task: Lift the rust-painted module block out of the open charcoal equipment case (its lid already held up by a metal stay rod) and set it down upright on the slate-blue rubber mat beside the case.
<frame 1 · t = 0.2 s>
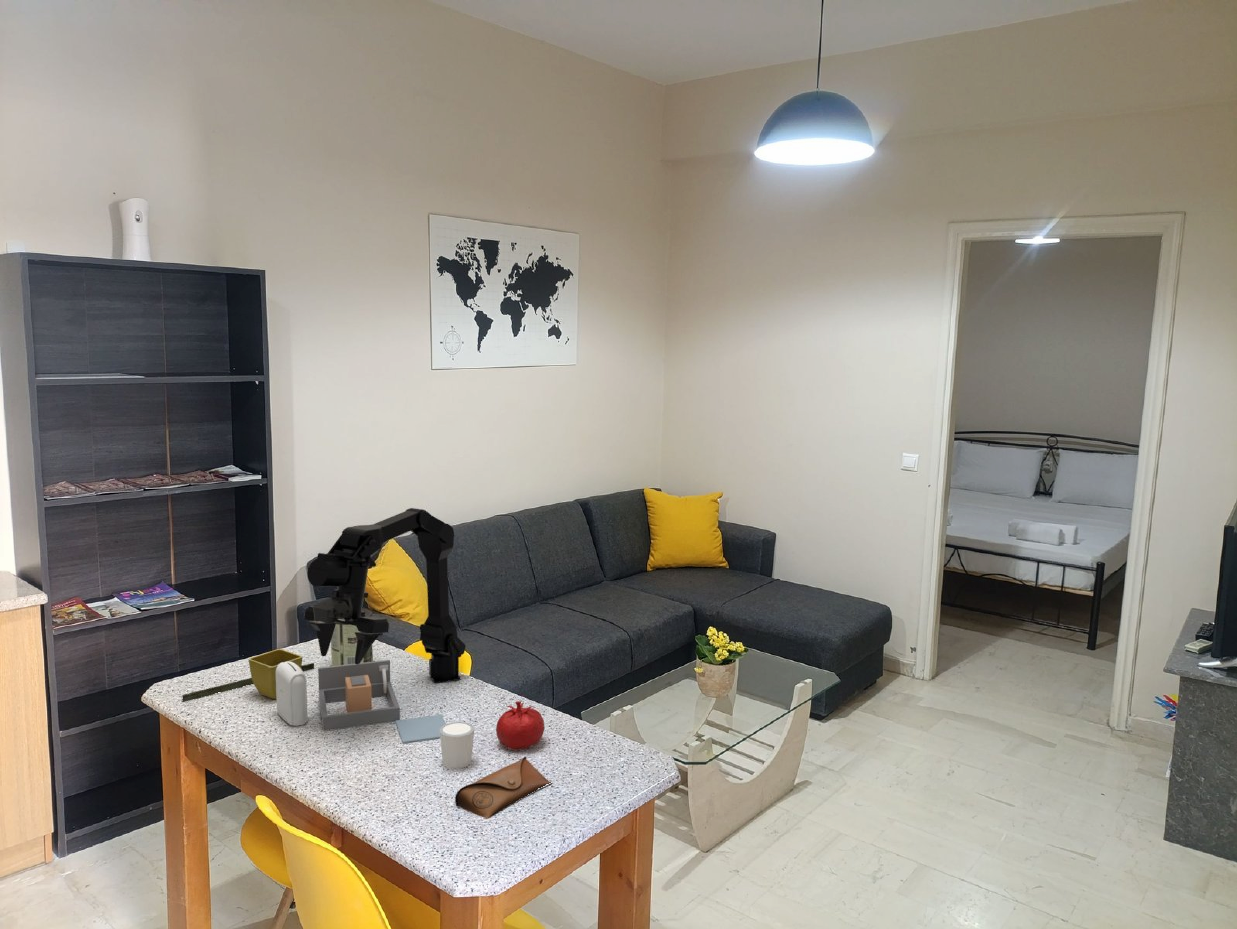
hand: (340, 660, 187), 15 cm above the table, tool pointing down, fingers open, 9 cm apart
sunglasses case: (505, 796, 164), on the table
shot glass: (457, 762, 176), on the table
rod: (251, 686, 212), on the table
coffee can: (352, 668, 224), on the table
module: (358, 711, 198), resting in case
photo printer: (292, 719, 194), on the table
pomegranate: (520, 744, 184), on the table
case: (358, 711, 198), on the table
flower pot: (276, 695, 207), on the table
mat: (422, 729, 190), on the table
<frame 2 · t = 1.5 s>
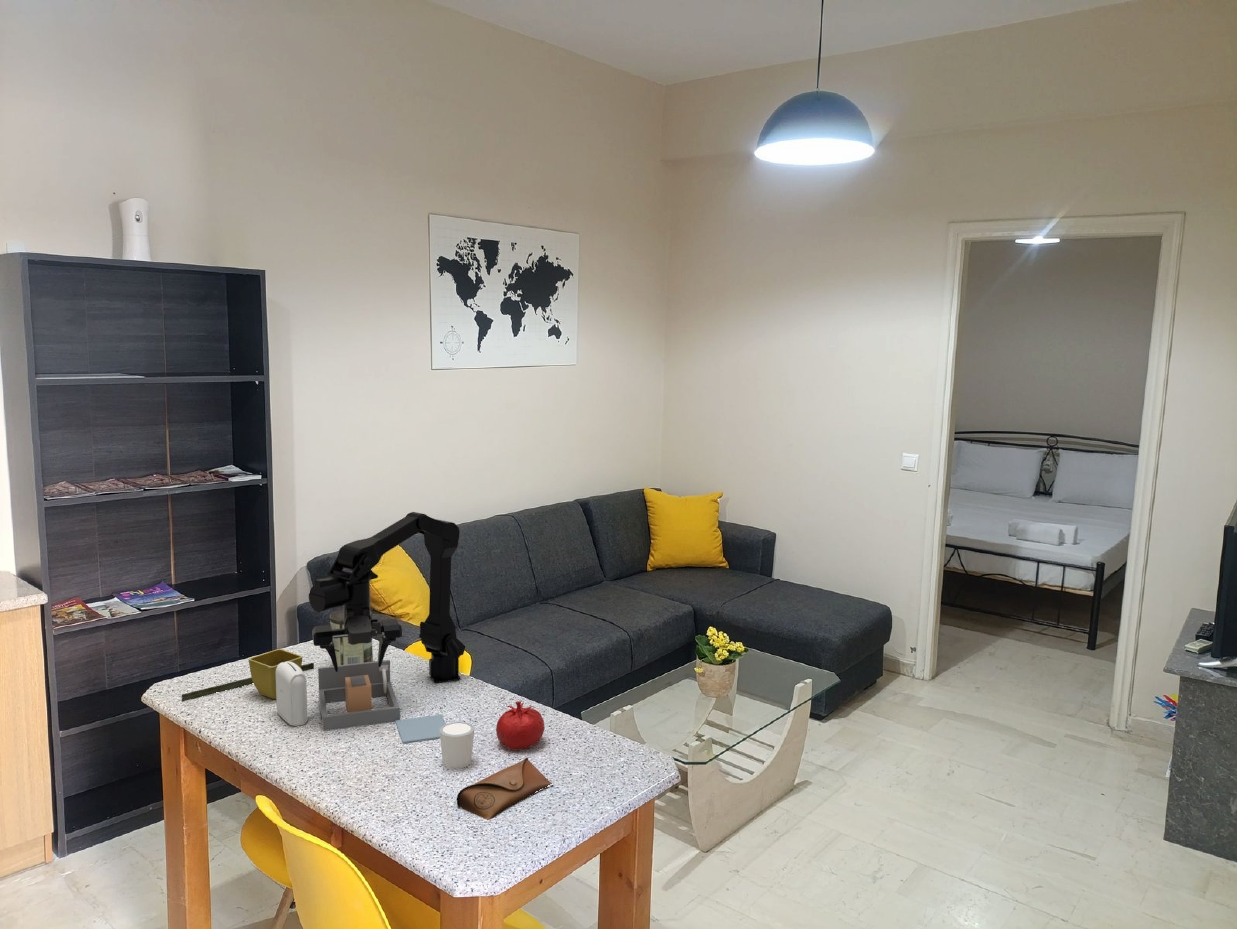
hand: (358, 669, 197), 10 cm above the table, tool pointing down, fingers open, 9 cm apart
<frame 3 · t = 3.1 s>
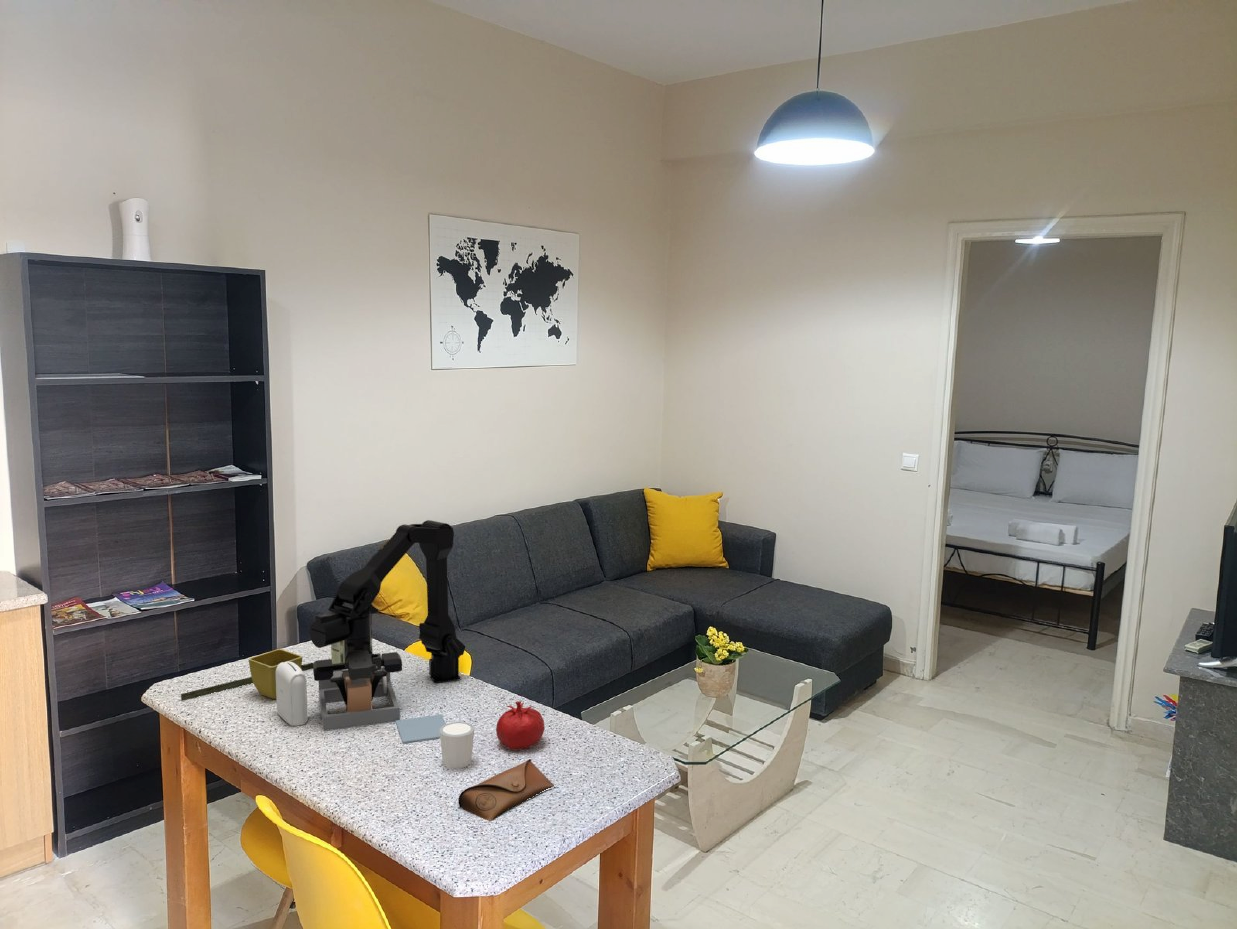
hand: (358, 702, 198), 2 cm above the table, tool pointing down, fingers closed on module, 5 cm apart
module: (358, 711, 198), resting in case, touching gripper
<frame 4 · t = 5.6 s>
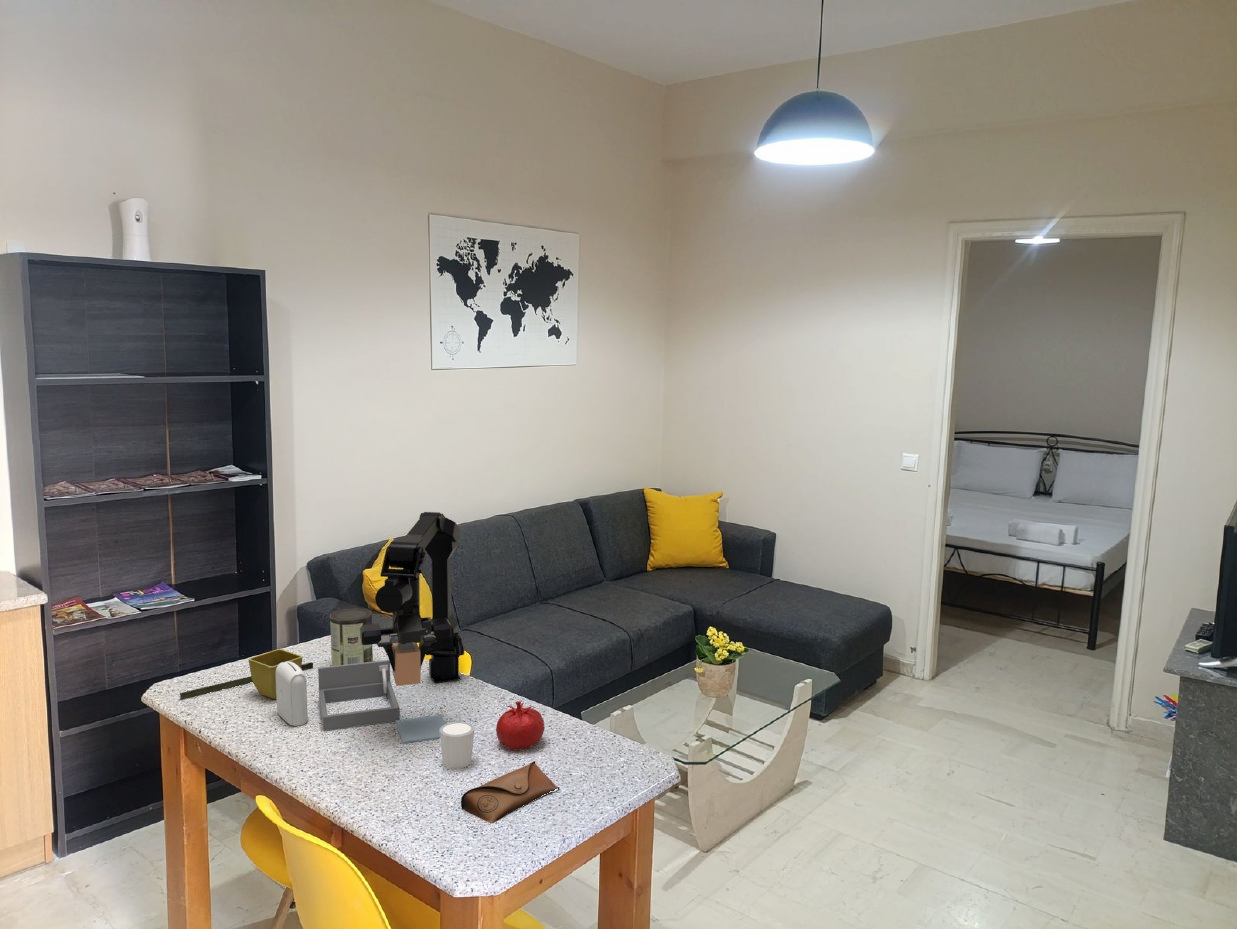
hand: (406, 669, 190), 13 cm above the table, tool pointing down, fingers closed on module, 5 cm apart
module: (406, 678, 190), point 11 cm above the table, touching gripper
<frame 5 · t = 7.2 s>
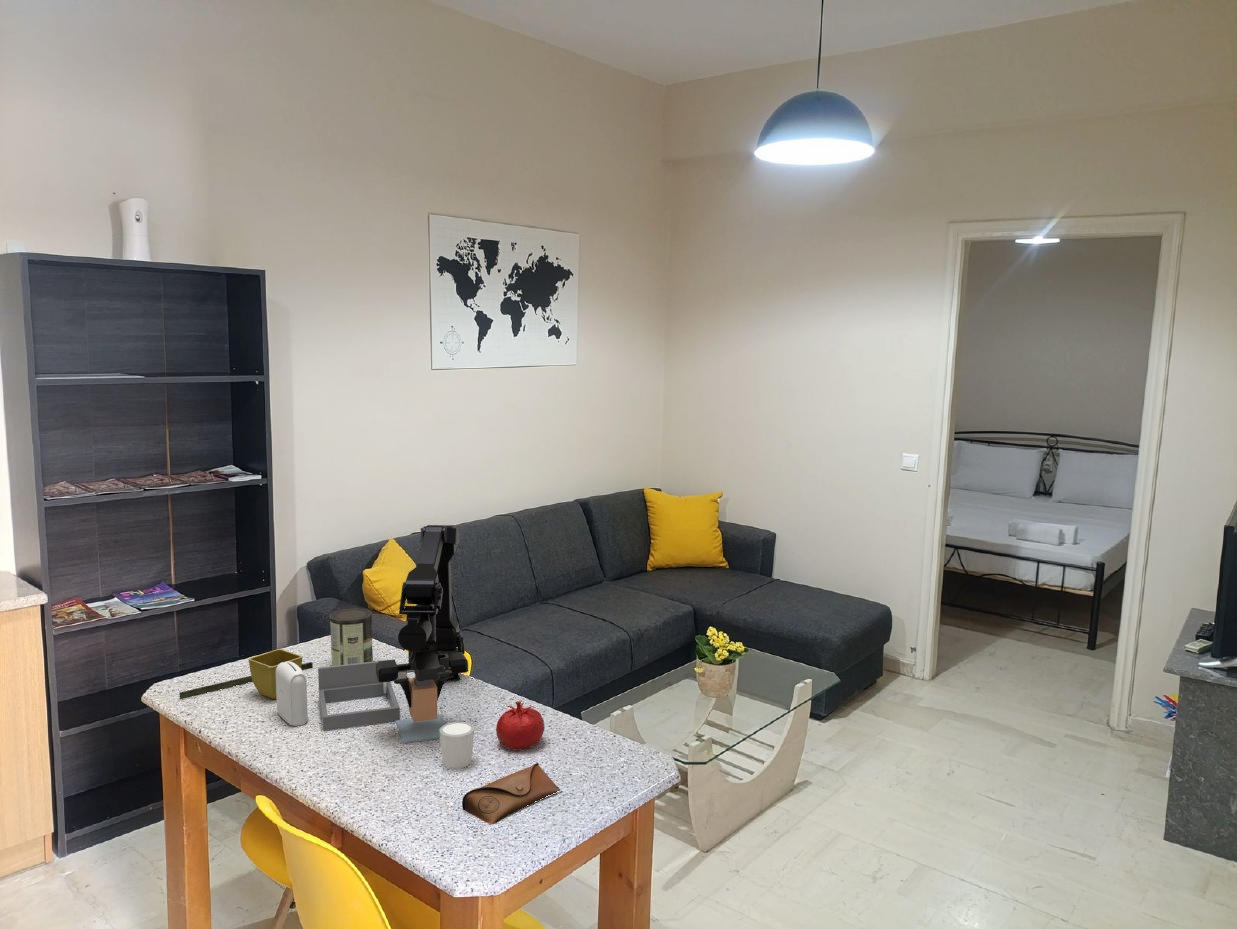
hand: (422, 705, 189), 5 cm above the table, tool pointing down, fingers closed on module, 5 cm apart
module: (422, 714, 189), point 3 cm above the table, touching gripper
when the fingers open (3 cm above the table, at t = 8.5 s): module stays where it is, resting on mat.
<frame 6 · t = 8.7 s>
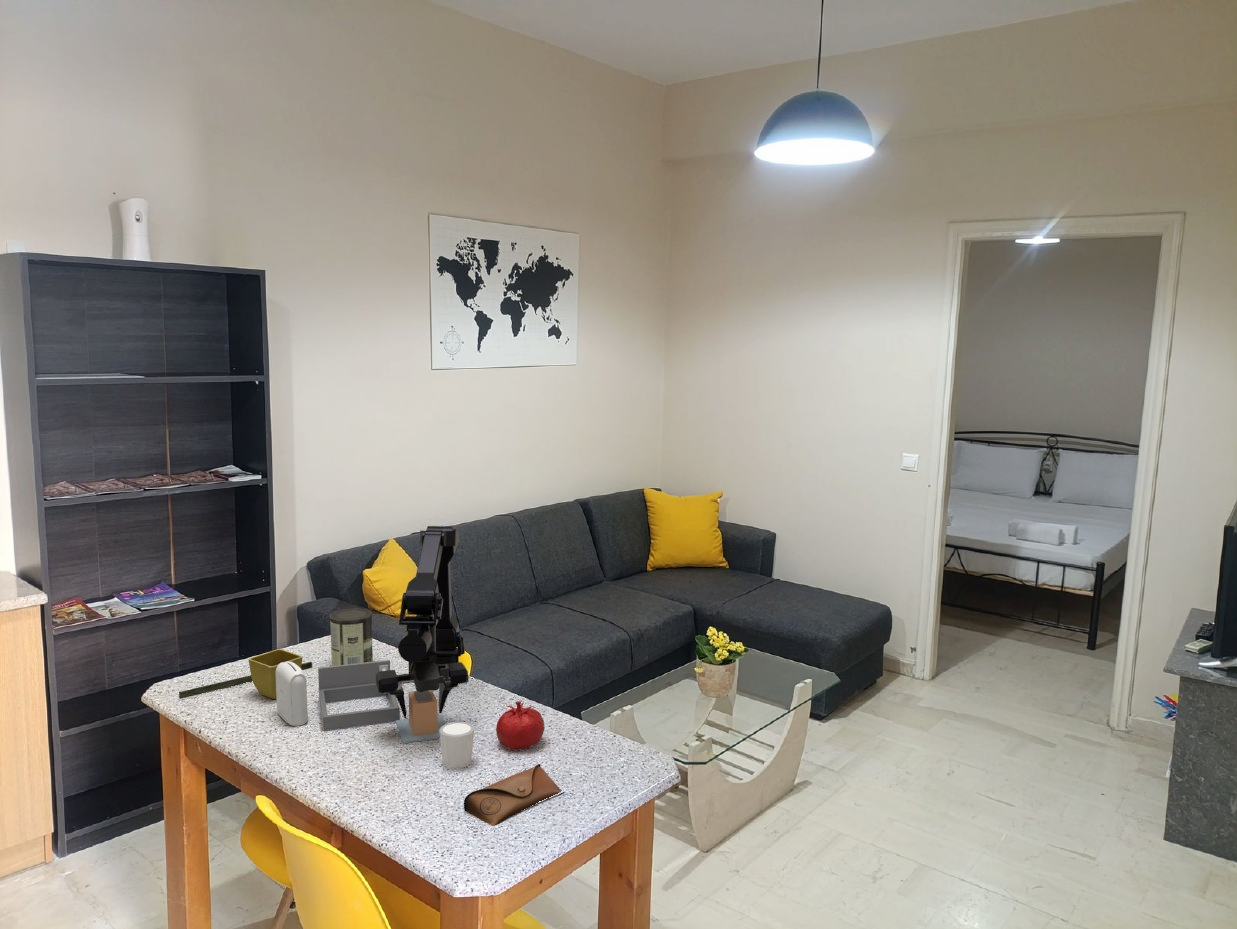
hand: (422, 715, 189), 3 cm above the table, tool pointing down, fingers open, 7 cm apart
module: (423, 727, 190), resting on mat
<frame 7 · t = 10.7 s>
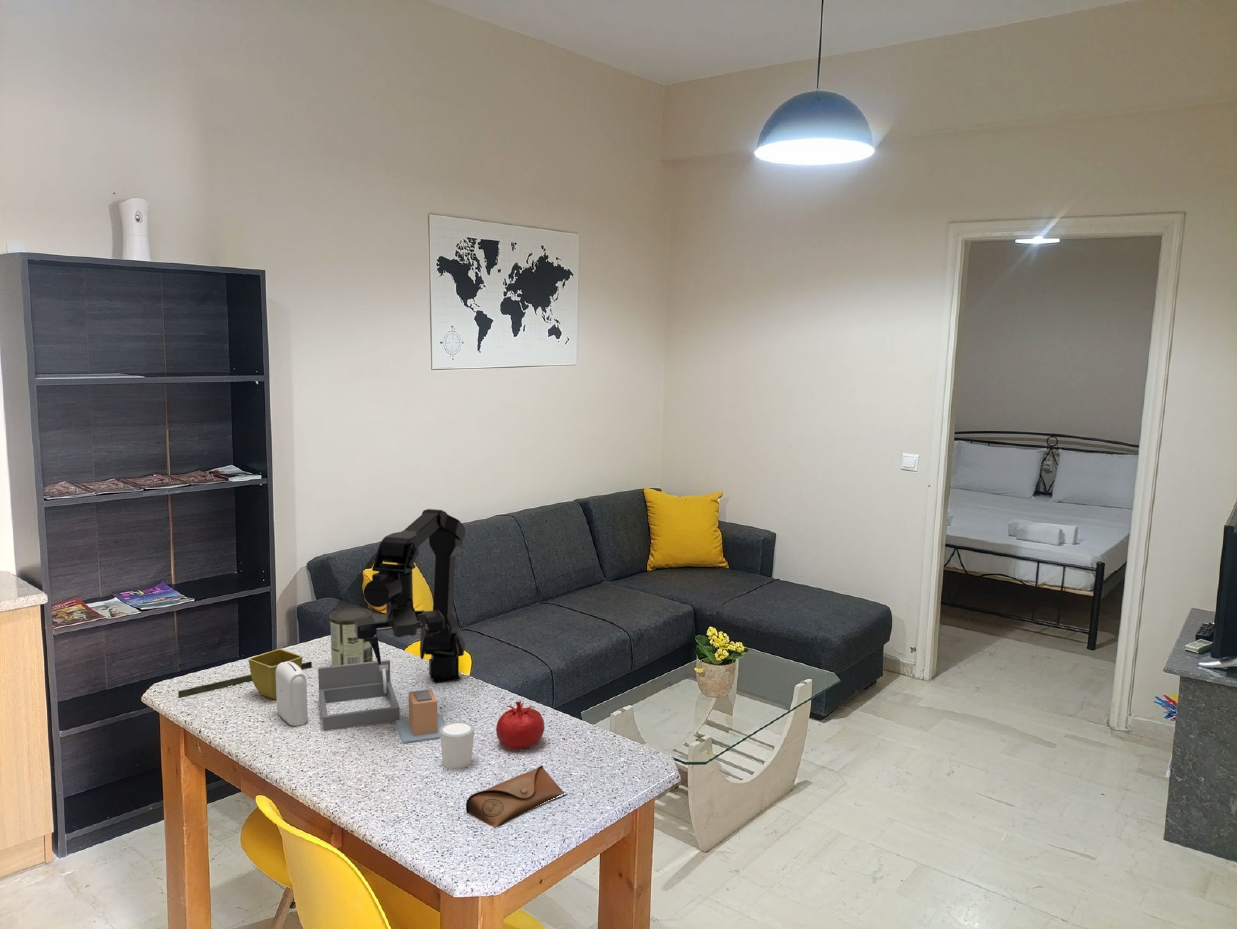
hand: (400, 661, 195), 13 cm above the table, tool pointing down, fingers open, 9 cm apart
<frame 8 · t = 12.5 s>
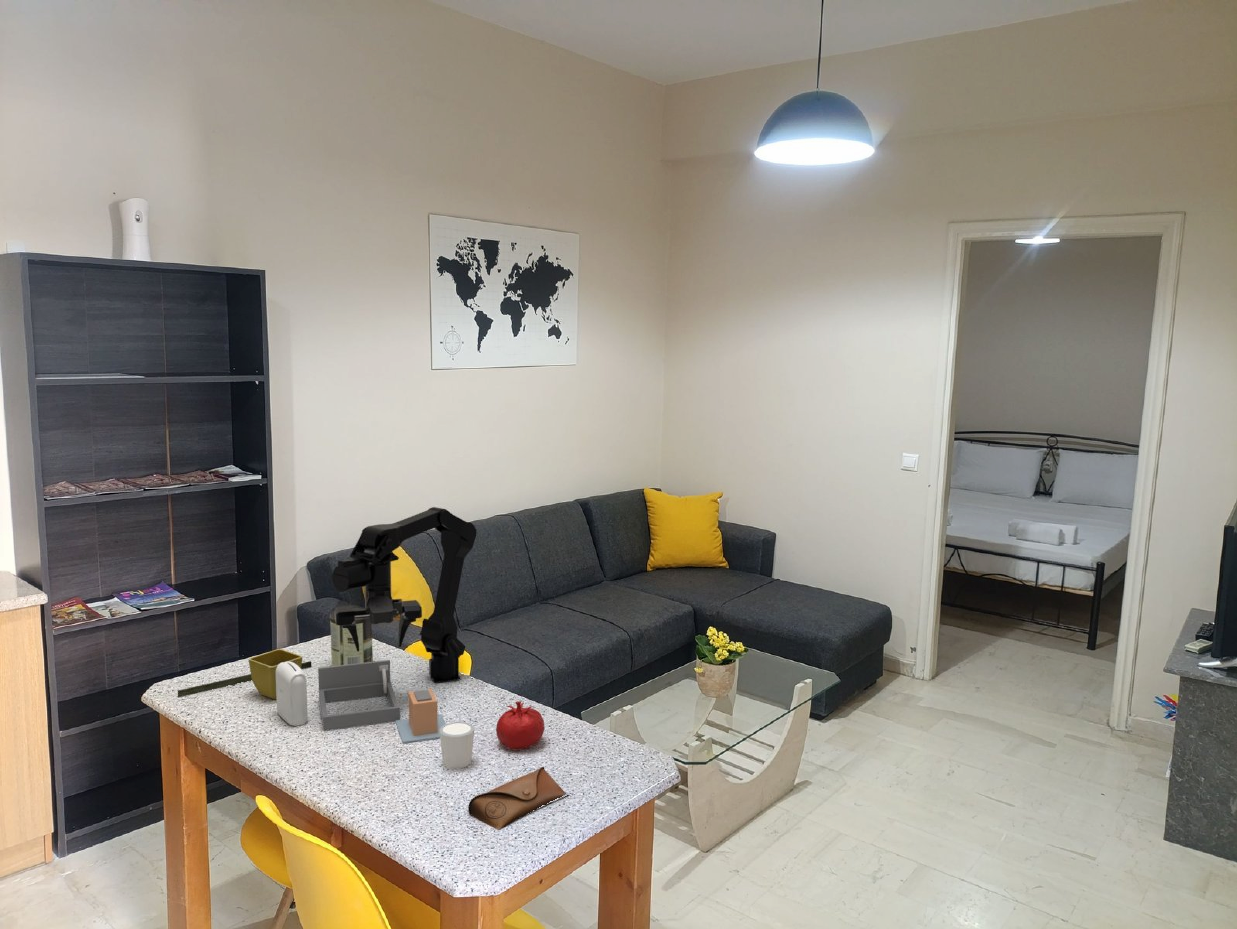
hand: (379, 648, 201), 13 cm above the table, tool pointing down, fingers open, 9 cm apart
at the end: module inside the target area on the mat (0.1 cm from its centre), point 0.4 cm above the mat's base; module tilted 0°; the gripper is holding nothing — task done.
